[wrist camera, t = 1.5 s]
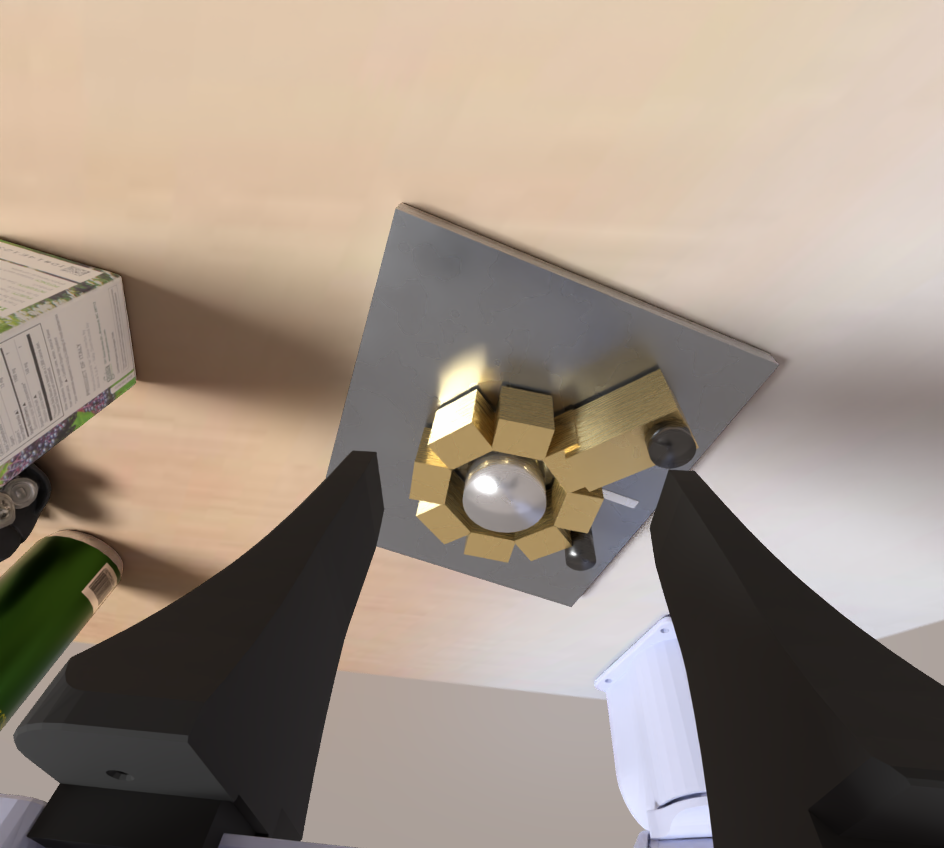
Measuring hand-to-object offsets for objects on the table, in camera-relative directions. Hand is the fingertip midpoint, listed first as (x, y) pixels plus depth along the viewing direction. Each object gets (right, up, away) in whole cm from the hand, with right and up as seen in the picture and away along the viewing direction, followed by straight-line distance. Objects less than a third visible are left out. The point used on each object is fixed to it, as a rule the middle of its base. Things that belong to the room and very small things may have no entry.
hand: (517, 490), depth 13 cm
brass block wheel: (+2, +1, +10) cm, 11 cm away
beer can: (-27, -7, +21) cm, 35 cm away
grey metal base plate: (+1, +1, +12) cm, 12 cm away
